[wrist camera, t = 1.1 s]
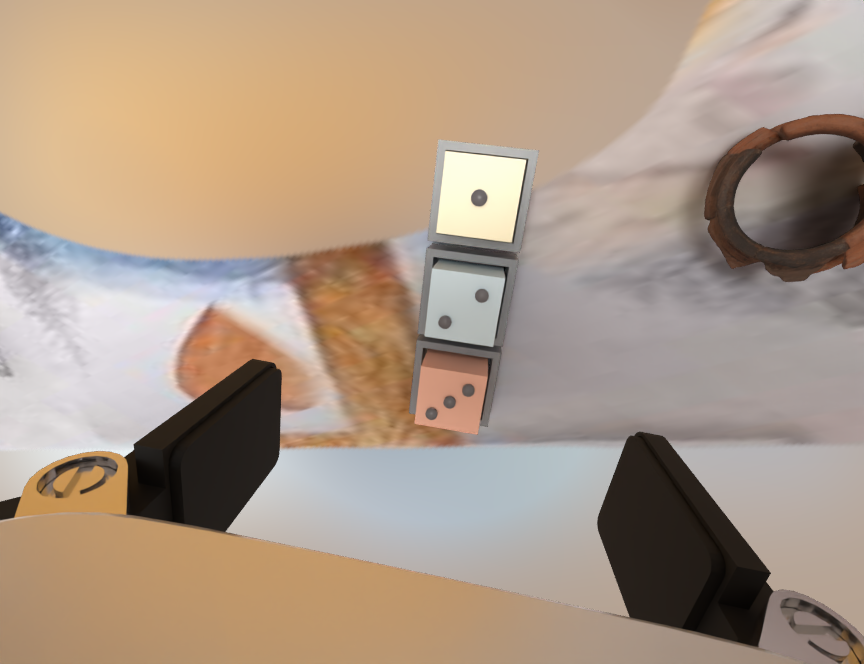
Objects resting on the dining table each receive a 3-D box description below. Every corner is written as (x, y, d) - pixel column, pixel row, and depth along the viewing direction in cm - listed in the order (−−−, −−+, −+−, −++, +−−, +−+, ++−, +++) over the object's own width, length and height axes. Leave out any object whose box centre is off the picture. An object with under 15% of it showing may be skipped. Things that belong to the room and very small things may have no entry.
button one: (520, 165, 25) (526, 159, 21) (508, 236, 27) (511, 243, 23) (452, 157, 26) (444, 150, 22) (443, 227, 27) (435, 233, 23)
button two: (503, 267, 27) (505, 279, 23) (492, 327, 29) (493, 348, 25) (440, 258, 28) (431, 269, 24) (432, 318, 29) (423, 337, 25)
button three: (488, 353, 30) (487, 378, 25) (479, 405, 31) (477, 437, 27) (429, 344, 30) (420, 367, 26) (423, 396, 31) (413, 425, 27)
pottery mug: (768, 306, 28) (777, 318, 21) (675, 208, 30) (659, 191, 24) (1012, 169, 21) (1134, 125, 15) (867, 57, 24) (916, -23, 17)
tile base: (500, 338, 31) (501, 353, 28) (487, 407, 33) (487, 426, 30) (423, 327, 31) (416, 340, 28) (415, 394, 33) (409, 413, 30)
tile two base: (515, 254, 28) (518, 260, 26) (501, 332, 30) (502, 346, 28) (432, 243, 29) (426, 248, 26) (424, 321, 31) (417, 333, 28)
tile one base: (533, 155, 26) (538, 150, 23) (517, 246, 28) (519, 252, 25) (443, 145, 27) (438, 139, 24) (433, 236, 29) (427, 240, 26)
